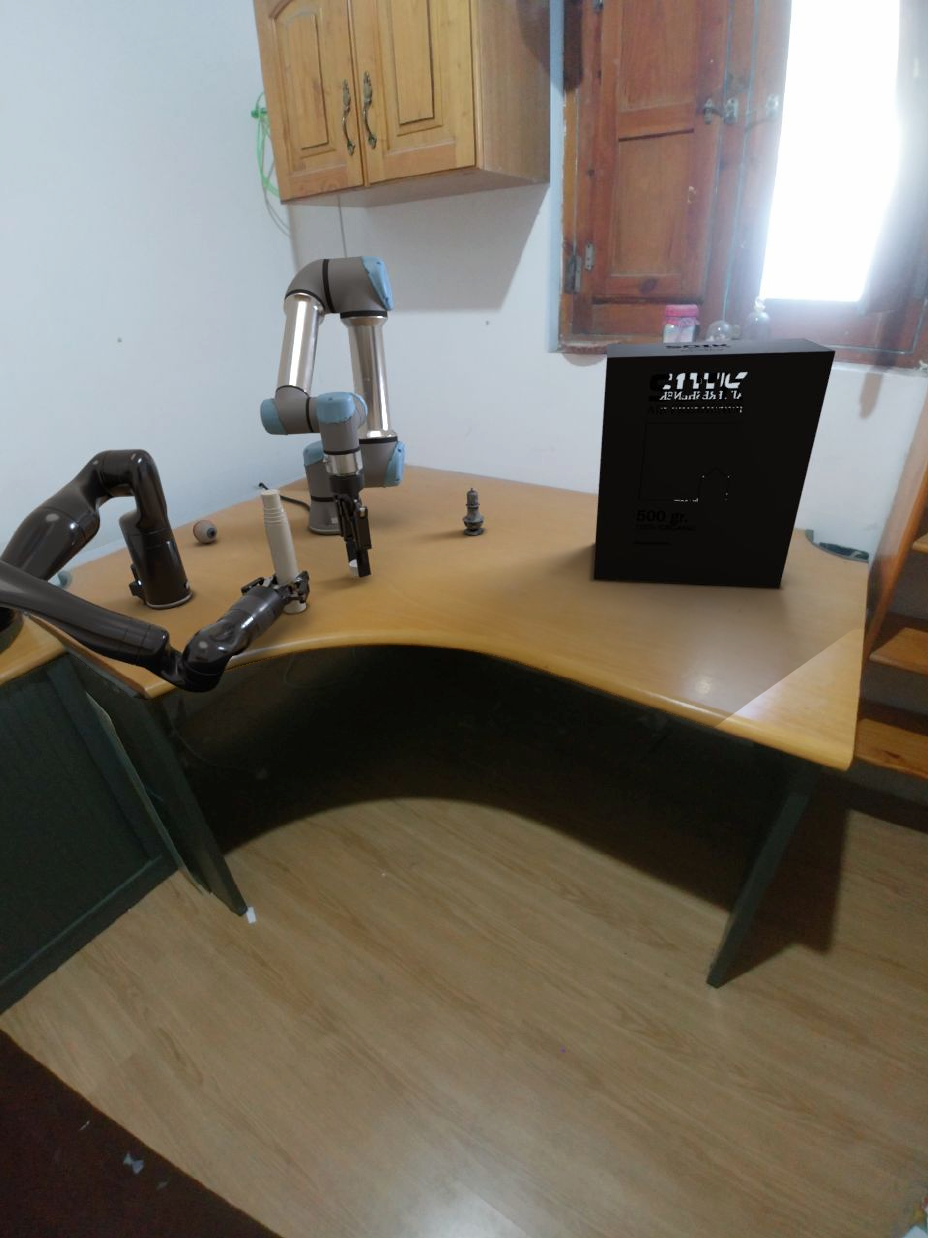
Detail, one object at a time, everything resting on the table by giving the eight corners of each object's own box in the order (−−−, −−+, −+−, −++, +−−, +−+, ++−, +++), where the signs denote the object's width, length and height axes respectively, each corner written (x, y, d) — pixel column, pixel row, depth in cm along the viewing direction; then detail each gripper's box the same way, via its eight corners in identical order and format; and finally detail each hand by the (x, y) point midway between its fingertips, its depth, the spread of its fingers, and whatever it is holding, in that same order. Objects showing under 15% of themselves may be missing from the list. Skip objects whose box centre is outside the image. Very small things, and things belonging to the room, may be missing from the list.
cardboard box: (759, 548, 141) (803, 338, 119) (779, 587, 124) (835, 350, 102) (595, 543, 149) (607, 344, 126) (593, 579, 132) (607, 357, 109)
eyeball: (206, 547, 159) (200, 526, 156) (191, 543, 162) (185, 522, 159) (225, 539, 164) (219, 518, 161) (210, 536, 167) (204, 515, 164)
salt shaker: (482, 535, 157) (481, 491, 151) (460, 535, 158) (458, 490, 152) (486, 527, 162) (485, 483, 156) (465, 526, 163) (463, 483, 157)
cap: (374, 571, 138) (372, 562, 137) (357, 577, 135) (355, 568, 134) (363, 565, 141) (362, 556, 140) (346, 571, 138) (345, 562, 137)
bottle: (302, 613, 126) (277, 495, 113) (280, 613, 126) (253, 496, 113) (308, 602, 130) (285, 487, 117) (287, 603, 130) (261, 488, 117)
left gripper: (224, 628, 116) (267, 588, 130) (293, 633, 113) (329, 591, 127) (214, 593, 112) (260, 556, 127) (284, 598, 109) (323, 559, 124)
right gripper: (313, 466, 131) (330, 563, 143) (344, 484, 118) (361, 590, 130) (345, 459, 134) (359, 555, 146) (379, 476, 122) (392, 580, 133)
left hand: (294, 574), depth 127 cm, fingers closed on bottle, 4 cm apart
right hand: (360, 571), depth 138 cm, fingers closed on cap, 4 cm apart
